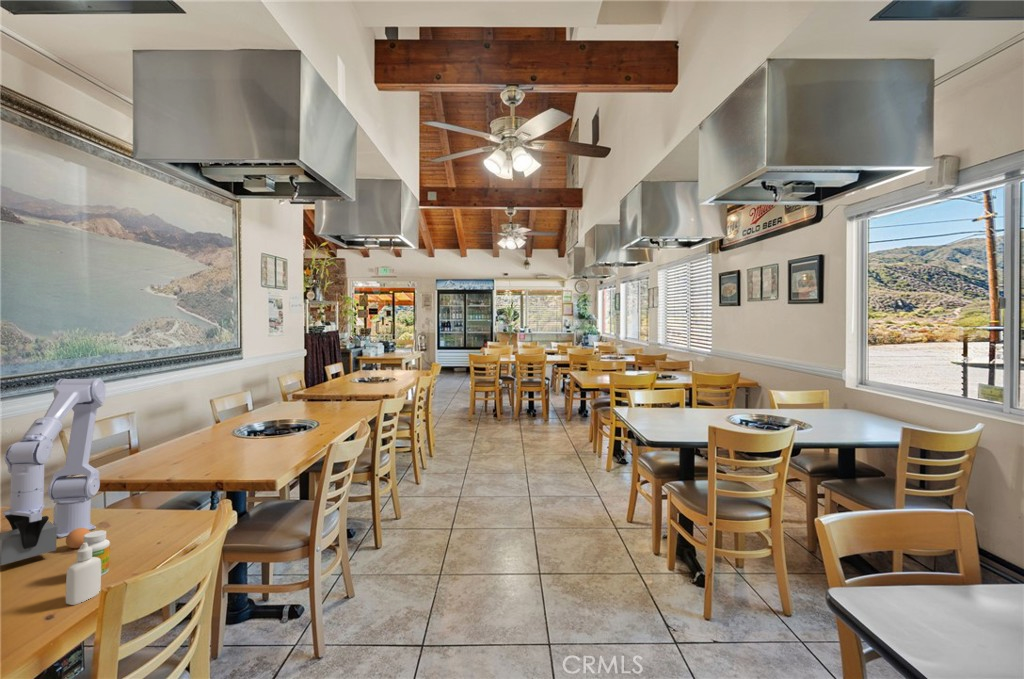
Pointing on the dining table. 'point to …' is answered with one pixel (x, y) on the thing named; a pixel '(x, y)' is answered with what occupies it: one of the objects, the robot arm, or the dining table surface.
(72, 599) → the eye dropper bottle
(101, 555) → the supplement bottle
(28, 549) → the gray block
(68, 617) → the dining table surface
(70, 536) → the brown egg
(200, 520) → the dining table surface
